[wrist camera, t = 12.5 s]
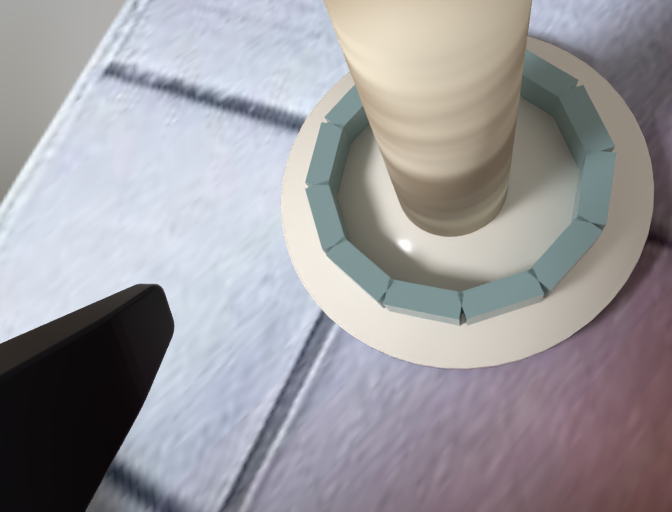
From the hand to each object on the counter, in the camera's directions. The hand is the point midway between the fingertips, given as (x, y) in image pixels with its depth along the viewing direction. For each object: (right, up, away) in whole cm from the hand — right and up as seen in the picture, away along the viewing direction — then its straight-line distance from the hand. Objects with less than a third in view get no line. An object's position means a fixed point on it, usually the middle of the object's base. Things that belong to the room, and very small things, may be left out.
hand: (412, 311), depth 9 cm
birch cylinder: (+4, +4, +14) cm, 15 cm away
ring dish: (+4, +4, +15) cm, 16 cm away
